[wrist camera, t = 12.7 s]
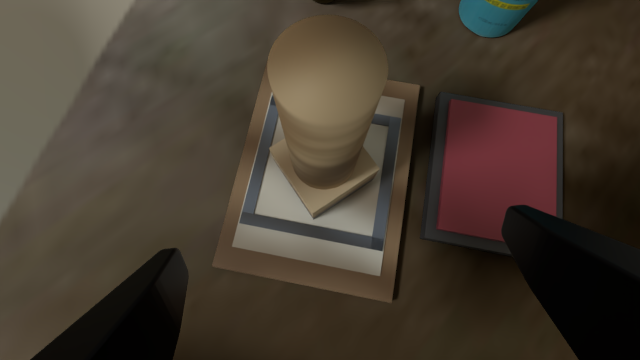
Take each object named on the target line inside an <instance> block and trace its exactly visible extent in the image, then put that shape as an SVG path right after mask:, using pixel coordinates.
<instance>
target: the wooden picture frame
mask: <svg viewBox="0 0 640 360" xmlns="http://www.w3.org/2000/svg"><path fill="white" fill-rule="evenodd" d="M267 62H268V60H267ZM419 89H420V85H415V84H409V83H404V82H398V81H392V80H387V81H386V84H385V87H384V90H383V92H382V95H381V98H380V100H379V103H378V106H377V109H376V111H375V114H374V117H373V119H372V122H371V125H370V128H369V130H368V133H367V136H366V138H365V141H364V144H363V147H364V148H365V150H366V151H367V152H368V154H369V155H370V156H371V158H372V159H373V160H374V162H375V163H376V164H377V166H378V167H379V168H380V169H379V171H378V173H377V174H376V176H375V177H374V179H373V180H372V181H371V182H369V183H368V184H366V185H365V186H363V187H362V188H360V189H359V190H357V191H356V192H354V193H353V194H351V195H350V196H348V197H347V198H345V199H344V200H342V201H341V202H339V203H338V204H336V205H335V206H333V207H332V208H330V209H329V210H327V211H326V212H324V213H323V214H321V215H320V216H318V217H317V218H315V219H314V220H313V218H312V217H311V215H310V214H309V212H308V211H307V209H306V208H305V206H304V205H303V203H302V202H301V200H300V199H299V197H298V196H297V194H296V193H295V191H294V190H293V188H292V187H291V185H290V184H289V182H288V181H287V179H286V178H285V176H284V175H283V173H282V172H281V170H280V169H279V167H278V166H277V164H276V163H275V161H274V159H273V156H272V154H271V152H270V150H269V148H270V147H271V146H273V145H275V144H276V143H278V142H280V141H281V140H283V139H284V138H285V136H284V133H283V129H282V125H281V122H280V118H279V115H278V111H277V107H276V104H275V100H274V97H273V93H272V89H271V86H270V82H269V78H268V72H267V64H266V67H265V71H264V75H263V79H262V82H261V86H260V90H259V93H258V97H257V101H256V105H255V108H254V112H253V116H252V119H251V123H250V127H249V130H248V134H247V138H246V142H245V145H244V149H243V153H242V156H241V160H240V164H239V168H238V171H237V175H236V179H235V182H234V186H233V190H232V193H231V197H230V201H229V205H228V208H227V212H226V216H225V219H224V223H223V227H222V231H221V234H220V238H219V242H218V245H217V249H216V253H215V257H214V260H213V264H212V266H213V267H217V268H222V269H227V270H232V271H237V272H242V273H247V274H252V275H257V276H262V277H266V278H271V279H276V280H281V281H286V282H291V283H296V284H301V285H306V286H310V287H315V288H320V289H325V290H330V291H335V292H340V293H345V294H350V295H354V296H359V297H364V298H369V299H374V300H379V301H384V302H389V303H392V298H393V290H394V282H395V274H396V267H397V259H398V251H399V244H400V236H401V228H402V220H403V213H404V205H405V197H406V189H407V182H408V174H409V166H410V158H411V151H412V143H413V135H414V127H415V120H416V112H417V104H418V96H419Z"/></svg>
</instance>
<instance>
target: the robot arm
mask: <svg viewBox="0 0 640 360" xmlns="http://www.w3.org/2000/svg"><path fill="white" fill-rule="evenodd" d="M501 234H502V237H503V239H504V241H505V243H506V245H507V247H508V249H509V251H510V252H511V254H512V256H513V258H514V260H515V262H516V263H517V265H518V267H519V269H520V271H521V273H522V275H523V276H524V278H525V280H526V282H527V283H528V285H529V287H530V288H531V290H532V291H533V293H534V294H535V296H536V297H537V299H538V300H539V302H540V303H541V305H542V306H543V308H544V309H545V311H546V312H547V314H548V315H549V317H550V318H551V319H552V321H553V322H554V324H555V325H556V327H557V328H558V330H559V331H560V333H561V334H562V336H563V337H564V339H565V340H566V341H567V343H568V344H569V346H570V347H571V349H572V350H573V352H574V353H575V355H576V356H577V358H578V359H579V360H640V249H637V248H635V247H632V246H630V245H627V244H625V243H622V242H620V241H617V240H614V239H612V238H609V237H607V236H604V235H602V234H599V233H597V232H594V231H591V230H589V229H586V228H584V227H581V226H579V225H576V224H574V223H571V222H568V221H566V220H563V219H561V218H558V217H556V216H553V215H551V214H548V213H545V212H543V211H540V210H538V209H535V208H533V207H530V206H528V205H514V206H510V207H508V208H507V210H506V213H505V217H504V221H503V224H502V228H501ZM187 284H188V269H187V267H186V264H185V262H184V259H183V257H182V255H181V252H180V250H179V249H177V248H170V249H163V250H160V251H159V252H158V253H157V254H155V255H154V256H153V257H152V258H151V259H150V260H148V261H147V262H146V263H145V264H144V265H142V266H141V267H140V268H139V269H138V270H136V271H135V272H134V273H133V274H132V275H130V276H129V277H128V278H127V279H126V280H124V281H123V282H122V283H121V284H120V285H119V286H117V287H116V288H115V289H114V290H113V291H111V292H110V293H109V294H108V295H107V296H105V297H104V298H103V299H102V300H101V301H99V302H98V303H97V304H96V305H95V306H94V307H92V308H91V309H90V310H89V311H88V312H86V313H85V314H84V315H83V316H82V317H80V318H79V319H78V320H77V321H76V322H74V323H73V324H72V325H71V326H70V327H69V328H67V329H66V330H65V331H64V332H63V333H61V334H60V335H59V336H58V337H57V338H55V339H54V340H53V341H52V342H51V343H49V344H48V345H47V346H46V347H45V348H43V349H42V350H41V351H40V352H39V353H38V354H36V355H35V356H34V357H33V358H32V359H30V360H173V356H174V352H175V349H176V345H177V341H178V337H179V333H180V328H181V322H182V316H183V310H184V303H185V297H186V290H187Z"/></svg>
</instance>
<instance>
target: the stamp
mask: <svg viewBox="0 0 640 360" xmlns="http://www.w3.org/2000/svg"><path fill="white" fill-rule="evenodd" d="M267 72H268V78H269V82H270V86H271V89H272V93H273V97H274V100H275V104H276V107H277V111H278V115H279V118H280V122H281V125H282V129H283V133H284V136H285V138H284V139H283V140H281V141H280V142H278V143H276V144H275V145H273V146H271V147H270V148H269V150H270V152H271V154H272V156H273V159H274V161H275V163H276V164H277V166H278V167H279V169H280V170H281V172H282V173H283V175H284V176H285V178H286V179H287V181H288V182H289V184H290V185H291V187H292V188H293V190H294V191H295V193H296V194H297V196H298V197H299V199H300V200H301V202H302V203H303V205H304V206H305V208H306V209H307V211H308V212H309V214H310V215H311V217H312V218H313V220H314V219H315V218H317V217H318V216H320V215H321V214H323V213H324V212H326V211H327V210H329V209H330V208H332V207H333V206H335V205H336V204H338V203H339V202H341V201H342V200H344V199H345V198H347V197H348V196H350V195H351V194H353V193H354V192H356V191H357V190H359V189H360V188H362V187H363V186H365V185H366V184H368V183H369V182H371V181H372V180H373V179H374V177H375V176H376V174H377V173H378V171H379V169H380V168H379V167H378V166H377V164H376V163H375V162H374V160H373V159H372V158H371V156H370V155H369V154H368V152H367V151H366V150H365V148H364V147H363V144H364V141H365V138H366V136H367V133H368V130H369V128H370V125H371V122H372V119H373V117H374V114H375V111H376V109H377V106H378V103H379V100H380V98H381V95H382V92H383V90H384V87H385V84H386V81H387V77H388V60H387V56H386V53H385V50H384V48H383V46H382V44H381V42H380V41H379V40H378V38H377V37H376V36H375V35H374V34H373V33H372V32H371V31H370V30H369V29H368V28H367V27H365V26H364V25H362V24H360V23H359V22H357V21H354V20H352V19H349V18H346V17H342V16H337V15H318V16H313V17H308V18H305V19H303V20H300V21H298V22H296V23H294V24H293V25H291V26H290V27H288V28H287V29H286V30H285V31H283V32H282V34H281V35H280V36H279V37H278V38H277V40H276V41H275V42H274V44H273V46H272V48H271V50H270V53H269V57H268V62H267Z"/></svg>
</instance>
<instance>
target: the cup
mask: <svg viewBox="0 0 640 360" xmlns="http://www.w3.org/2000/svg"><path fill="white" fill-rule="evenodd" d="M313 1H315V2H318V3H331V2H333V1H335V0H313Z"/></svg>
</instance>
